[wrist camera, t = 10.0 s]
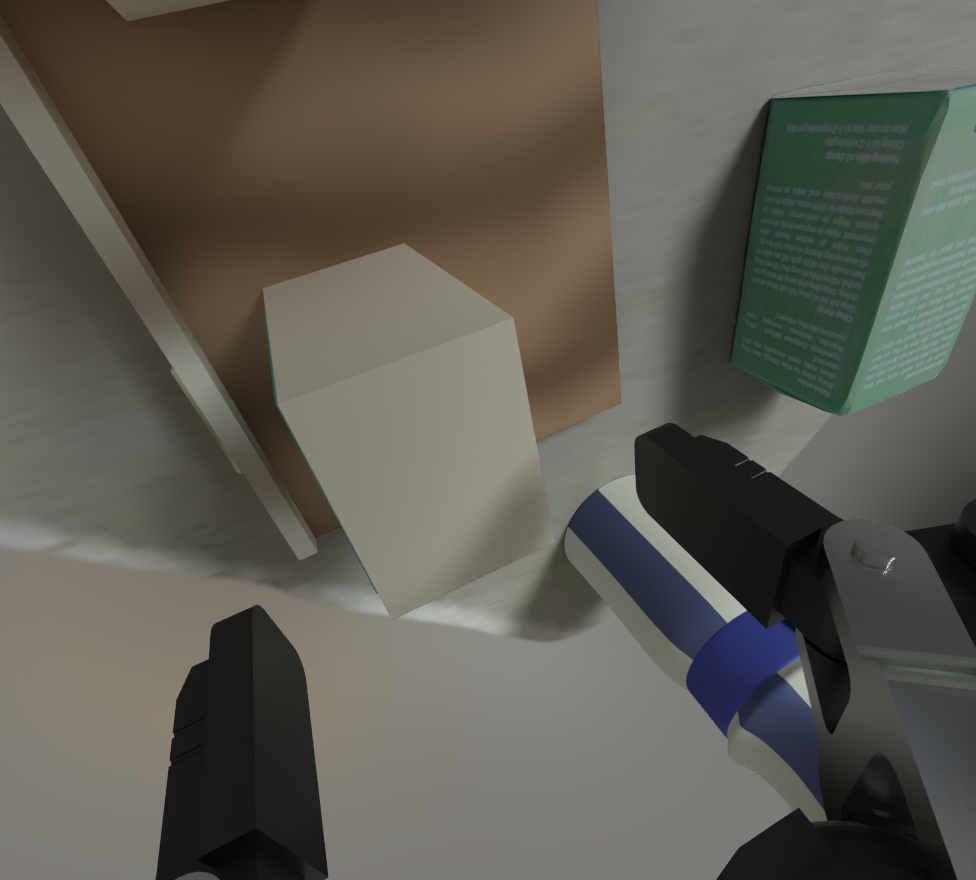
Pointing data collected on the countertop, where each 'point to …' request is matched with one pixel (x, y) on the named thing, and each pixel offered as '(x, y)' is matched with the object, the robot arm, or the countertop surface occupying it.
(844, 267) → the box
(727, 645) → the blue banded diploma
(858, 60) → the countertop surface
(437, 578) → the carton
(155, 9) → the faced carton
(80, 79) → the board
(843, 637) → the robot arm
